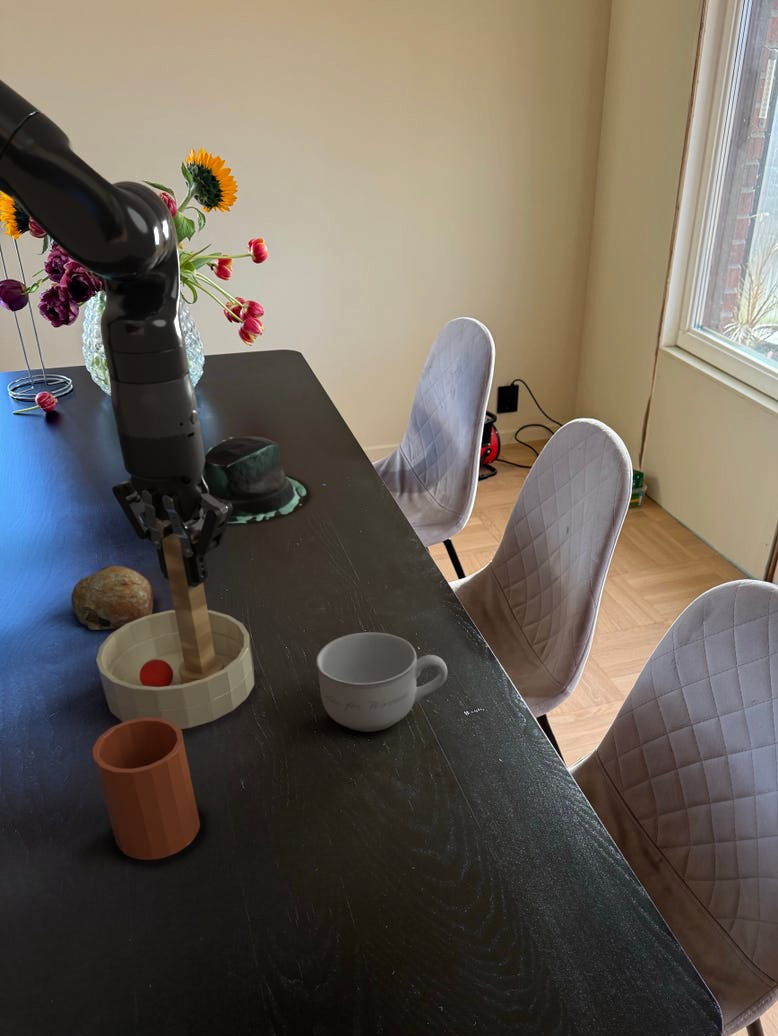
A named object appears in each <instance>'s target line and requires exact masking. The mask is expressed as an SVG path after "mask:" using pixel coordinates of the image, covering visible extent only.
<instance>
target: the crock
mask: <svg viewBox="0 0 778 1036" xmlns="http://www.w3.org/2000/svg"><path fill="white" fill-rule="evenodd" d="M92 760H93V764H94V767H95V771H96V775H97V778H98V781H99V785H100V789H101V793H102V797H103V801H104V803H105V807H106V811H107V814H108V818H109V822H110V825H111V828H112V833H113V837H114V840H115V844H116V846H117V848H118V849H119V850H120V851H121V852H122V853H123V854H124V855H126V856H128V857H130V858H133V859H136V860H142V861H153V860H159V859H160V860H161V859H164V858H168V857H170V856H172V855H174V854H177V853H179V852H181V851H182V850H184V849H185V848H186V847H188V846H189V845H190V844H191V843H192V842H193V841H194V839H195V838H196V836H198V835H197V834H198V832H199V831H200V830H199V829H200V827H201V821H200V816H199V815H200V814H199V811H198V806H197V800H196V794H195V791H194V785H193V780H192V775H191V770H190V764H189V761H188V760H189V759H188V755H187V750H186V745H185V740H184V736H183V730H182V729H180V728H179V727H178V726H177V725H176V724H175V723H173V722H171V721H168V720H165V719H162V718H149V717H145V718H144V717H143V718H138V719H133V720H128V721H125V722H120V723H118V724H116V725H114V726H112V727H110V728H109V729H107V730H106V731H104V732H103V733H102V734H101V735H100V736H98V738H97V739H96V741H95V742H94V744H93V746H92Z"/></svg>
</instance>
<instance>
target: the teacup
mask: <svg viewBox="0 0 778 1036" xmlns="http://www.w3.org/2000/svg"><path fill="white" fill-rule="evenodd" d="M315 660H316V661H315V662H316V663H315V665H316V668H317V671H318V684H319V691H320V697H321V702H322V705H323V708H324V710H325V712H326V713H327V715H329V717H330V718H331V719H332V720H333V721H335V722H336V723H338V724H339V725H341V726H344V727H346V728H348V729H350V730H354V731H358V732H363V733H364V732H367V733H369V732H370V733H371V732H378V731H382V730H385V729H388V728H390V727H392V726H393V725H395V724H396V723H398V722H400V721H401V720H403V719H404V718H405V717H406V716H407V715H408V714H409V713H410V711H412V709H413V706H414V703H418V702H420V701H421V700H422V699H423V697H425V696H427V695H429V694H431V693H433V692H435V691H436V690H438V689H439V688H441V687H442V686H443V685H444V684H445V682H446V680H447V676H448V667H447V665H446V662H445V660H444V659H442V658H441V657H439V656H437V655H434V654H426V655H424V656H421V657H419V658H418V657H417V652H416V649H415V648H414V647H413V645H412V644H411V643H410V642H409V641H408V640H406V639H405V638H402V637H400V636H397V635H394V634H390V633H385V632H376V631H375V632H374V631H367V632H357V633H352V634H347V635H344V636H340V637H338V638H336V639H334V640H332V641H330V642H329V643H327V644H325V645H324V647H322V648H321V650H319V652H318V654H317V655H316V659H315ZM426 667H435V668H436V669H437V671H438V674H437V676H436V677H435V678H433V679H432V680H430V681H429V682H427V683H426V684H423V685H419V686H417V679H419V677H420V675H421V672H422V671H423V669H424V668H426Z"/></svg>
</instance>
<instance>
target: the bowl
mask: <svg viewBox="0 0 778 1036" xmlns="http://www.w3.org/2000/svg"><path fill="white" fill-rule="evenodd" d="M207 610H208V616H209V622H210V629H211V635H212V641H213V647H214V653H215V656H217V657H219V658H220V659H221V660H222V662H223V666H224V669H223V670H221V671H219V672H217V673H215V674H212V675H210V676H208V677H206V678H204V679H201V680H197V681H193V682H190V683H186V684H181V679H180V674H179V666H180V664H181V663H182V662H183V661H184V658H183V652H182V647H181V642H180V636H179V631H178V626H177V620H176V615H175V610H174V609H171V610H170V609H169V610H165V611H161V612H156V613H152V614H151V615H147V616H144V617H142V618H139V619H137V620H135V621H132V622H130V623H127V624H125V625H124V626H122V627H121V628H117V629H115V631H113V632H112V633H110V634H108V636H107V637H106V638H105V640H104V641H103V642H102V643H101V644H100V646H98V650H97V655H96V659H95V662H96V666H97V670H98V674H99V678H100V682H101V686H102V690H103V694H104V698H105V701H106V704H107V707H108V709H109V712H110V713H111V714H113V715H114V716H115V717H116V718H117V719H118V720H120V722H121V723H123V722H125V721H128V720H133V719H138V718H143V717H144V718H145V717H149V718H162V719H165V720H168V721H171V722H173V723H175V724H176V725H177V726H178V727H179V728H180V729H181V730H185V729H191V728H195V727H198V726H201V725H205V724H208V723H211V722H214V721H216V720H217V719H219V718H222V717H223V716H225V715H227V714H229V713H231V712H233V711H235V710H236V708H238V707H239V706H240V705H242V704H243V702H245V701H246V700H247V698H248V697H249V695H250V693H251V692H252V690H253V688H254V686H255V667H254V659H253V651H252V645H251V638H250V637H251V636H250V633H249V632H248V630H247V629H246V627H245V625H244V624H243V623H242V622H241V621H239V620H237V619H235V618H234V617H232V616H231V615H228V614H226V613H223V612H219V611H216V610H215V611H214V610H211V609H207ZM155 659H159V660H163V661H165V662H167V663H168V664H169V665H170V666H171V668H172V670H173V680H172V682H171V684H170V685H169V686H164V687H150V686H143V685H142V683H141V681H140V677H139V676H140V670H141V668H142V666H143V665H144V664H145V663H147V662H148V661H151V660H155Z"/></svg>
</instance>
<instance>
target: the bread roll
mask: <svg viewBox="0 0 778 1036" xmlns="http://www.w3.org/2000/svg"><path fill="white" fill-rule="evenodd" d="M70 599H71V608H72V610H73V612H74V614H75V616H76V617H77V619H78V621H79V623H81V624H82V625H84V626H86V627H88V630H90V631H97V630H98V631H102V630H118V629H119V628H121V627H122V626H124V625H125V624H127V623H130V622H132V621H135V620H137V619H139V618H142V617H144V616H147V615H152V614H153V607H154V597H153V588H152V585H151V583H150V581H149V580H148V579H147V578H146V577H145V576H144V575H143V574H141V573H140V572H138V571H136V570H134V569H132V568H129V567H127V566H122V565H110V566H106V567H103V568H101V569H100V570H98V571H97V572H94V573H92V574H90V575H88V576H85V577H82V578H80V580H79V581H78V582H77V583H76V584H75V585H74V587H73V589H72V593H71V597H70Z"/></svg>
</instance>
